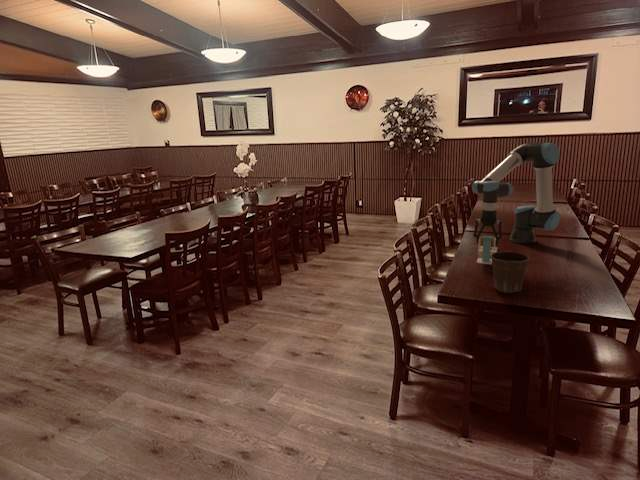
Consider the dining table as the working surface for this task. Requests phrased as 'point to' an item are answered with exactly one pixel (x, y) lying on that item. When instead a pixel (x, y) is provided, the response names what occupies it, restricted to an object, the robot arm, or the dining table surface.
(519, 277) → the plant pot
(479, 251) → the socket block
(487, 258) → the plug
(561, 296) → the dining table surface
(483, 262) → the tile
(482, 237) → the mug
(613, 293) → the dining table surface
